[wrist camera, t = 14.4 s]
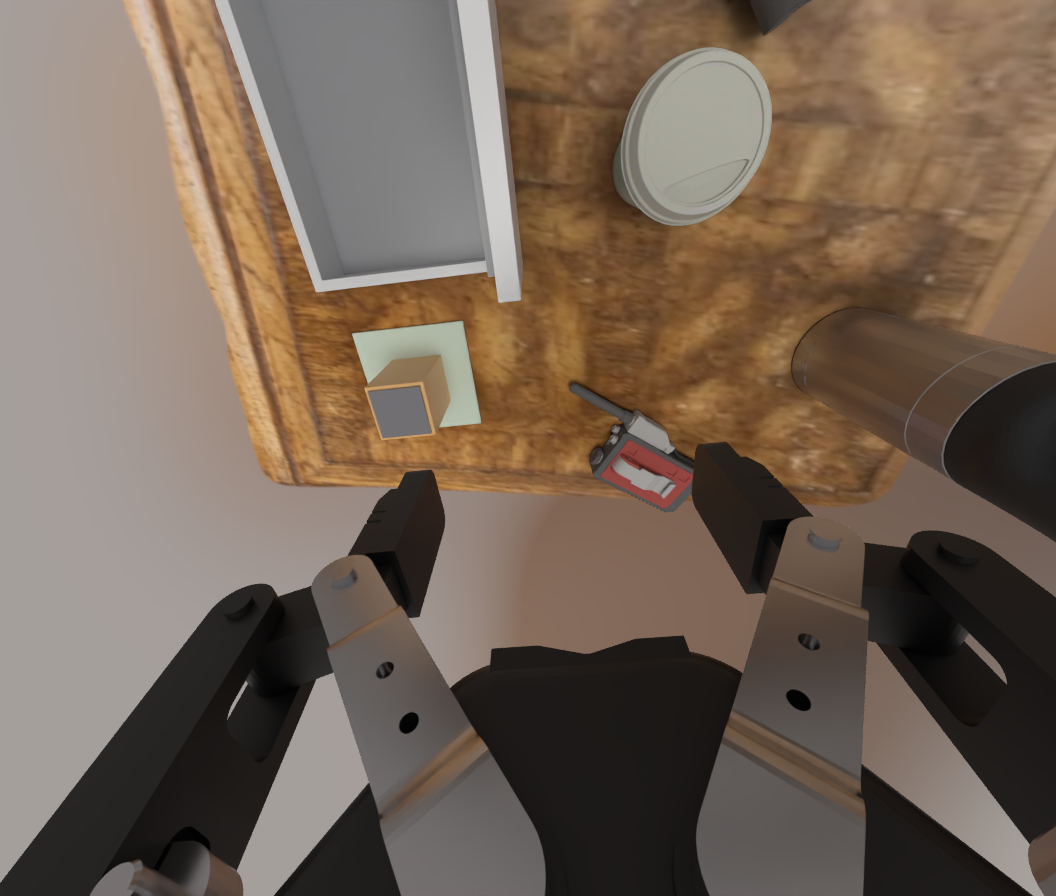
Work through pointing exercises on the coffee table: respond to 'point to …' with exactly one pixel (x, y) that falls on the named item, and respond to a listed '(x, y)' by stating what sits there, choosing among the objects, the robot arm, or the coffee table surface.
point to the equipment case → (385, 135)
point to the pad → (422, 342)
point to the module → (409, 397)
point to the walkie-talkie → (640, 458)
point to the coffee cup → (693, 137)
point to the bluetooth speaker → (774, 12)
